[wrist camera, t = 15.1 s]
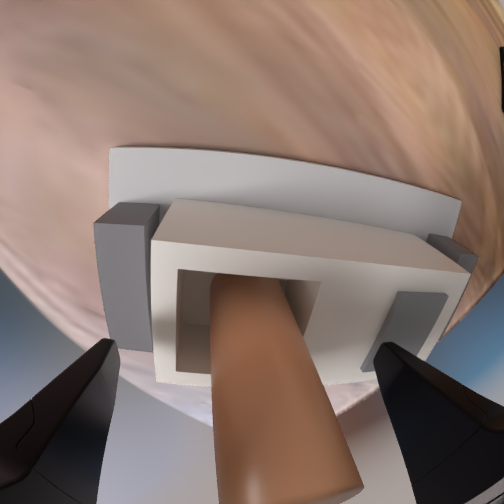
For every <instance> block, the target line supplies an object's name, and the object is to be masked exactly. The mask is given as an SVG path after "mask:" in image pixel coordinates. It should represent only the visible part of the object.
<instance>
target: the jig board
mask: <svg viewBox="0 0 504 504" xmlns="http://www.w3.org/2000/svg"><path fill="white" fill-rule="evenodd" d="M175 198H180V199H190V200H199V201H208V202H217V203H225V204H234V205H242V206H249V207H257V208H264V209H271V210H279V211H285V212H292V213H299V214H305V215H312V216H318V217H324V218H330V219H336V220H342V221H348V222H353V223H359V224H365V225H370V226H375V227H381V228H386V229H391V230H396V231H401V232H406V233H411V234H414V235H416V236H417V237H419V238H420V239H422V240H423V241H425V242H426V243H428V244H429V245H431V246H432V247H434V248H435V249H437V250H438V251H440V252H441V253H443V254H444V255H445V256H447V257H448V258H450V259H451V260H452V261H454V262H455V263H457V264H458V265H459V266H461V267H462V268H463V269H465V270H466V271H467V272H469V273H470V274H472V272H473V269H474V267H475V264H476V261H477V259H478V255H476V254H475V253H473V252H472V251H470V250H469V249H467V248H465V247H464V246H462V245H461V244H459V243H458V242H456V241H454V240H453V239H452V236H453V233H454V230H455V226H456V223H457V219H458V216H459V212H460V208H461V204H462V201H460V200H458V199H456V198H453V197H450V196H447V195H444V194H441V193H438V192H435V191H431V190H428V189H425V188H421V187H418V186H414V185H411V184H407V183H403V182H400V181H396V180H392V179H388V178H384V177H380V176H376V175H371V174H367V173H363V172H358V171H354V170H349V169H344V168H339V167H334V166H329V165H323V164H318V163H312V162H306V161H300V160H294V159H288V158H281V157H274V156H266V155H258V154H250V153H241V152H231V151H220V150H208V149H194V148H176V147H141V146H118V147H112V148H110V159H109V210H108V211H107V212H106V213H105V214H104V215H102V216H101V217H100V218H99V219H98V220H96V221H95V222H94V223H93V224H94V237H95V248H96V258H97V266H98V274H99V281H100V288H101V294H102V300H103V306H104V311H105V316H106V321H107V326H108V331H109V335H110V339H113V340H115V341H116V343H117V348H120V349H127V350H135V351H144V352H153V335H152V314H151V239H152V238H153V236H154V234H155V232H156V230H157V229H158V227H159V225H160V223H161V221H162V220H163V218H164V216H165V214H166V213H167V211H168V209H169V208H170V206H171V204H172V203H173V201H174V199H175ZM470 277H471V275H470ZM470 277H469V279H470ZM468 282H469V280H468ZM468 282H467V284H468ZM467 284H466V286H465V289H466V287H467ZM465 289H464V291H465ZM464 291H463V293H462V295H461V297H460V299H459V301H458V304H459V302H460V300H461V298H462V296H463V294H464ZM458 304H457V306H456V308H455V310H454V312H453V313H452V315H451V317H450V319H449V321H448V323H447V325H446V327H445V328H444V330H443V332H442V334H441V336H440V337H439V339H438V340H441V338H442V336H443V334H444V332H445V330H446V329H447V327H448V325H449V323H450V321H451V319H452V317H453V315H454V313H455V311H456V309H457V307H458Z"/></svg>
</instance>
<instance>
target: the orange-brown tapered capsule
mask: <svg viewBox="0 0 504 504" xmlns="http://www.w3.org/2000/svg"><path fill="white" fill-rule="evenodd" d="M210 357H211V390H212V413H213V431H214V447H215V462H216V474H217V486H218V497H219V504H340V503H342V502H344V501H346V500H348V499H350V498H352V497H353V496H355V495H356V494H358V493H360V492H361V491H362V490H363V488H364V485H363V482H362V480H361V478H360V475H359V472H358V470H357V467H356V465H355V462H354V460H353V457H352V455H351V452H350V450H349V447H348V445H347V442H346V440H345V437H344V435H343V432H342V430H341V427H340V425H339V423H338V420H337V418H336V415H335V413H334V410H333V408H332V405H331V403H330V400H329V398H328V396H327V393H326V391H325V388H324V386H323V384H322V381H321V379H320V376H319V374H318V372H317V369H316V367H315V364H314V362H313V360H312V357H311V355H310V353H309V350H308V348H307V345H306V343H305V341H304V338H303V336H302V334H301V331H300V329H299V327H298V324H297V322H296V320H295V317H294V315H293V312H292V310H291V308H290V305H289V303H288V301H287V299H286V296H285V294H284V292H283V289H282V287H281V285H280V282H279V280H278V278H270V277H258V276H247V275H236V274H225V273H217V274H216V275H215V277H214V278H213V280H212V283H211V286H210Z"/></svg>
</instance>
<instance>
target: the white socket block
mask: <svg viewBox="0 0 504 504" xmlns="http://www.w3.org/2000/svg"><path fill="white" fill-rule="evenodd" d="M217 273H225V274H236V275H247V276H258V277H270V278H278V280H279V282H280V285H281V287H282V289H283V292H284V294H285V296H286V299H287V301H288V303H289V305H290V308H291V310H292V312H293V315H294V317H295V320H296V322H297V324H298V327H299V329H300V331H301V334H302V336H303V338H304V341H305V343H306V345H307V348H308V350H309V353H310V355H311V357H312V360H313V362H314V364H315V367H316V369H317V372H318V374H319V376H320V379H321V381H322V384H323V385H334V384H344V383H352V382H360V381H368V380H374V379H377V376H376V373H375V369H374V365H373V359H374V356H375V355H376V353H377V351H378V349H379V347H380V345H381V344H382V343H383V342H390V341H391V342H394V343H395V344H397V345H399V346H400V347H402V348H404V349H405V350H407V351H409V352H410V353H412V354H413V355H415V356H417V357H418V358H420V359H422V360H423V361H425V360H426V358H427V357H428V356H429V354H430V352H431V351H432V349H433V347H434V346H435V344H436V342H437V341H438V339H439V337H440V336H441V334H442V332H443V330H444V328H445V327H446V325H447V323H448V321H449V319H450V317H451V315H452V313H453V312H454V310H455V308H456V306H457V304H458V301H459V299H460V297H461V295H462V293H463V291H464V289H465V286H466V284H467V282H468V280H469V277H470V275H471V274H470V273H469V272H467V271H466V270H465V269H463V268H462V267H461V266H459V265H458V264H457V263H455V262H454V261H452V260H451V259H450V258H448V257H447V256H445V255H444V254H443V253H441V252H440V251H438V250H437V249H435V248H434V247H432V246H431V245H429V244H428V243H426V242H425V241H423V240H422V239H420V238H419V237H417V236H416V235H414V234H411V233H406V232H401V231H396V230H391V229H386V228H381V227H375V226H370V225H365V224H359V223H353V222H348V221H342V220H336V219H330V218H324V217H318V216H312V215H305V214H299V213H292V212H285V211H279V210H271V209H264V208H257V207H249V206H242V205H234V204H225V203H217V202H208V201H199V200H190V199H180V198H175V199H174V201H173V203H172V204H171V206H170V208H169V209H168V211H167V213H166V214H165V216H164V218H163V220H162V221H161V223H160V225H159V227H158V229H157V230H156V232H155V234H154V236H153V238H152V239H151V314H152V335H153V350H154V362H155V373H156V382H162V383H170V384H180V385H191V386H205V387H211V357H210V286H211V283H212V280H213V278H214V277H215V275H216V274H217Z"/></svg>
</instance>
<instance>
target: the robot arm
mask: <svg viewBox="0 0 504 504" xmlns="http://www.w3.org/2000/svg"><path fill="white" fill-rule="evenodd" d="M500 53H501V66H502V109H503V112H504V47H500ZM373 365H374V369H375V373H376V376H377V380H378V383H379V387H380V391H381V395H382V398H383V401H384V404H385V406H386V409H387V412H388V415H389V417H390V420H391V423H392V426H393V428H394V431H395V434H396V437H397V440H398V443H399V446H400V449H401V452H402V455H403V458H404V462H405V465H406V468H407V471H408V474H409V478H410V481H411V484H412V489H413V492H414V496H415V500H416V503H417V504H504V407H503V406H501V405H499V404H497V403H495V402H493V401H491V400H489V399H487V398H485V397H483V396H482V395H480V394H477V393H476V392H474V391H473V390H471V389H469V388H468V387H466V386H464V385H462V384H461V383H459V382H458V381H456V380H454V379H453V378H451V377H449V376H448V375H446V374H444V373H443V372H441V371H439V370H438V369H436V368H435V367H433V366H431V365H430V364H428V363H426V362H425V361H423V360H422V359H420V358H418V357H417V356H415V355H413V354H412V353H410V352H409V351H407V350H405V349H404V348H402V347H400V346H399V345H397V344H395V343H394V342H391V341H390V342H383V343H382V344H381V345H380V347H379V349H378V351H377V353H376V355H375V356H374V359H373ZM119 369H120V356H119V352H118V348H117V343H116V341H115V340H113V339H107V338H103V339H101V340H100V341H99V342H97V343H96V344H95V345H94V346H93V347H91V348H90V349H89V350H88V351H87V352H85V353H84V354H83V355H82V356H81V357H79V358H78V359H77V360H76V361H75V362H74V363H72V364H71V365H70V366H69V367H68V368H67V369H65V370H64V371H63V372H62V373H61V374H59V375H58V376H57V377H56V378H55V379H53V380H52V381H51V382H50V383H49V384H48V385H46V387H44V388H43V389H42V390H41V391H39V392H38V393H37V394H36V395H35V396H34V397H33V398H32V400H31V399H30V400H29V401H28V402H27V403H26V404H24V405H23V406H22V407H21V408H20V409H19V410H17V411H16V412H15V413H14V414H13V415H11V416H10V417H9V418H7V419H6V420H4V421H3V422H2V423H0V504H96V502H97V494H98V487H99V480H100V474H101V467H102V461H103V457H104V451H105V446H106V441H107V436H108V432H109V427H110V422H111V418H112V414H113V410H114V405H115V398H116V390H117V382H118V375H119Z"/></svg>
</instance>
